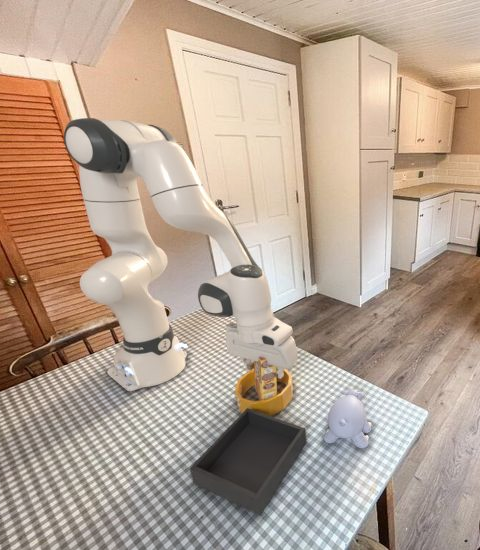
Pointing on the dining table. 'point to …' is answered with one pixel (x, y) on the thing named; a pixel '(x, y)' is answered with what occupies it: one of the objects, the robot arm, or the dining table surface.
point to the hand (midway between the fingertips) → (264, 372)
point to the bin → (250, 460)
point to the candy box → (265, 379)
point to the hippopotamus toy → (348, 419)
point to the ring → (264, 406)
